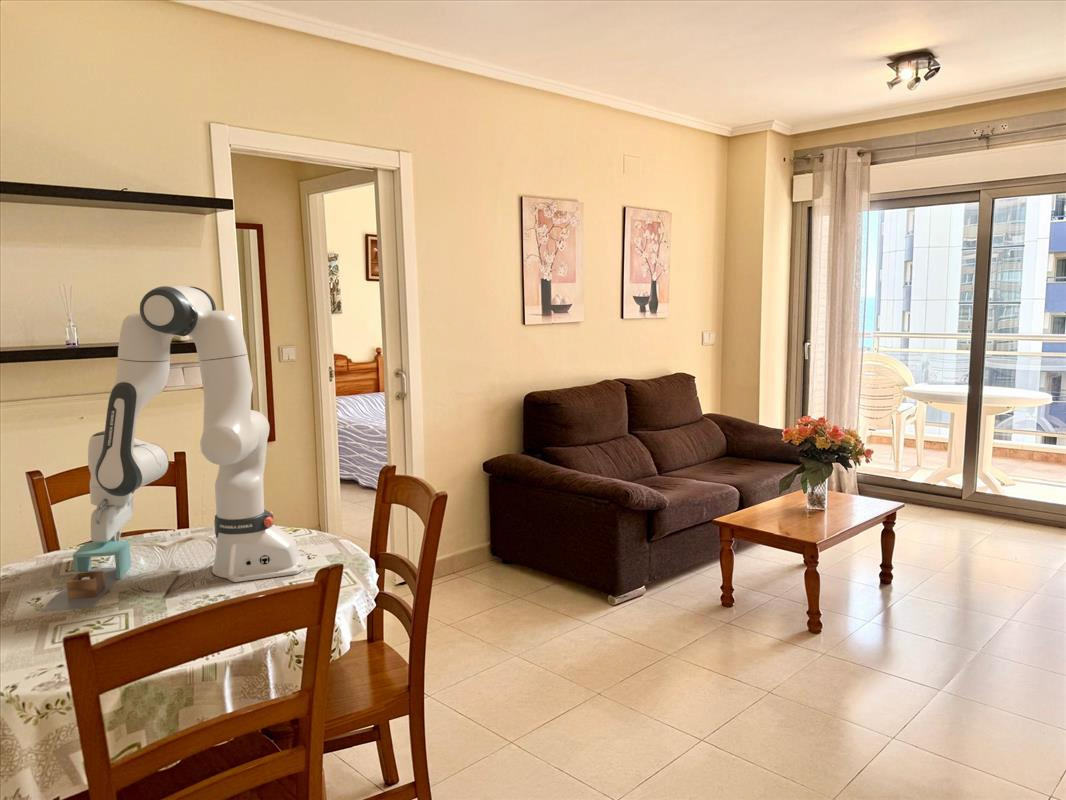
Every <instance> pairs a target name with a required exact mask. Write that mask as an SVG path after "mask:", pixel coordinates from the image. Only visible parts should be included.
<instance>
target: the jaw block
mask: <svg viewBox="0 0 1066 800" xmlns="http://www.w3.org/2000/svg"><path fill="white" fill-rule="evenodd" d="M84 577H90V579H85V580H82V578H84ZM66 586H67V592H68V599H78V598H93V597H97V596H98V595H99V593H100V592H101V591H102V590H103V589H104V588H105V582H104V571H88V572H76V573H75V574H73V575H72V576H71V577H70V578H69V579H68V580H67V581H66Z"/></svg>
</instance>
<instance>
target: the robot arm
mask: <svg viewBox="0 0 1066 800" xmlns="http://www.w3.org/2000/svg"><path fill="white" fill-rule="evenodd" d="M139 303H140V304H139V311H135V312H133V313H130V314H128V315H127V316H126V317H125V318H124V319H123V321H122V324H121V328H120V331H119V332H120V333H119V339H118V347H117V369H116V375H115V380H114V385H113V388H112V389H111V392H110V394H109V397H108V404H107V410H106V418H105V427H104V431H103V430H102V431H99V432H96V433H94V434H93V435H92V436H91V437H90V438H89V441H88V447H87V464H88V466H87V467H88V469H89V470H88V471H89V472H90V479H89V493H90V494H89V497H90V504H92V506H96V508H95V509H94V510H93V511H92V513H91V516H90V517H91V518H90V540H91V542H93V543H105V542H109V541H121V540H120V539H121V535H122V528H124V526H125V525H127V523H128V522H130V521H131V519H132V518H133V514H134V500H135V499H134V493H135V492H136V490H138V489H139V488H141V487H145V486H147V485H149V484H151V483H152V482H155V481H156V480H159V479H160V478H162V477H163V476H165V474H167V472H168V469H169V466H170V463H169V462H170V461H169V456H168V454H167V452H166V451H165V450H164V449H163V447H162V446H160V445H159V444H156V443H153V442H152V443H151V442H147V441H143V440H141V439H137V438H135V437H136V429H137V420H138V417H139V415H140V413H141V411H142V410H143V409H144V407H145V406H146V405H147V404H148V403H149V402H150V401H151V400H152V399H153V398H154V397H156V396H157V395H158V394H160V393H161V392H162V391H163V390H164V389H165V387H166V386H167V383H168V381H169V376H170V370H171V366H170V365H171V342H172V340H173V338H174V337H175V336H179V337H187V336H189V337H190V338H191V339H192V340H193V342H194V345H195V347H196V352H197V353H196V354H197V360H198V364H199V365H198V366H199V371H200V377H201V382H202V390H203V428H202V429H203V431H202V435H201V437H200V443H199V444H200V445H199V447H200V450H201V453H202V455H203V456H204V458H205V459H206V460H207V461H208V462H211V463H212V464H214V465H219V467H218V472H217V476H216V479H215V483H214V490H215V491H214V492H215V493H214V495H215V496H214V497H215V509H216V510H215V511H216V514H215V515H214V521H213V522H214V526H213V527H214V534H215V538H216V546H215V547H216V548H215V556H214V560H213V565H212V569H211V571H212V572H211V573H212V574H214V575H215V576H217V577H220V578H222V579H223V578H224V579H228V580H229V581H230V582H233V583H238V582H247V581H253V580H262V579H269V578H277V577H283V576H284V577H285V576H293V575H297V574H300V573H301V572H303V571H304V570H305V569H306V568H307V566H308V563H307V561H308V555H307V554H306V553H305V552H303V551H300V550H299V547H298V544H297V541H296V539H295V537H294V535H292V534H290V533H288V532H286V531H285V530H283V529H282V528H280V527H279V526H277V525H275V524H274V513H273V510H271V511H270V512H269V511H267V510H266V509H265V493H264V491H265V490H264V475H265V467H266V459H267V449H268V439H269V435H270V422H269V420H268V419H267V417H266V416H265V415H264V414H263V413H262V412H260V411H257V410H253V409H251V408H252V392H253V387H254V384H253V379H252V377H253V376H252V372H251V367H250V360H249V355H248V349H247V345H246V344H247V343H246V340H245V336H244V333H243V330H242V327H241V325H240V322H239V319H238V318H237V316H236V315H234V313H231V312H229V311H226V310H222V309H221V310H220V309H219V310H218V309H217V307H216V302H215V300H214V298H213V297H212V296H211V294H210V293H208V292H207V291H205V290H204V289H202V288H199V287H196V286H187V285H186V286H185V285H180V284H177V285H176V284H174V285H165V286H164V285H163V286H162V285H161V286H158V287H155V288H153V289H150V290H149V291H148V292H147V293H146V294H145V295H144V296H143V297H142V299H141V301H140V302H139ZM308 562H309V561H308ZM306 565H307V566H306ZM305 567H306V568H305Z"/></svg>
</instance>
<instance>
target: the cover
mask: <svg viewBox="0 0 1066 800" xmlns="http://www.w3.org/2000/svg"><path fill="white" fill-rule="evenodd" d="M130 544H131V543H130V540H129V539H128V540H120V541H109V542H105V543H93V542H92V541H90V542H84V543H83V545H81V546H80V548H78V549H77V550H76V551H74V553H73V554H72V559H73V561H72V562H73V570H74V571H73V572H74V574H75V573H76V572H88V571H89V570H90V569H92V561H91V560H92V558H91V557H107V556H108V557H109V556H114V558H115V559H114V562H115V563H114V564H115V567H116V577H117V580H119V579H121V578H122V577H123V576H124V575H125V574H126V572H127V571H128V570H129V569H131V566H132V560H131V547H130ZM74 574H73V575H74Z"/></svg>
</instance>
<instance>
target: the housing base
mask: <svg viewBox="0 0 1066 800" xmlns="http://www.w3.org/2000/svg"><path fill="white" fill-rule="evenodd" d="M89 571H104V582H105V588H104V589H103V590H102V591H101V592H100V593H99V595H98V596H97V597H93V598H78V599H68V592H67V585H66V586H65V587H64V588H62V590H60V592H58V594H57V595H56V596H54V597H53V599H51V601H50V602H48V603H47V604H46V605H45V606H44V607H43V608H42V609H41V612H53V611H54V612H55V611H67V610H80V609H81V610H83V609H94V607H95V606H96V605H97V604H98V602H100V600H101V599H103V597H104V595H106V593H107V592H108V591H109V589H110V588H111V587H112V586H114V584H115V583H117V581H118V579H117V577H116V566H114V567H97V568H91V569H90V570H89ZM85 579H90V577H84V578H82V580H85Z"/></svg>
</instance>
